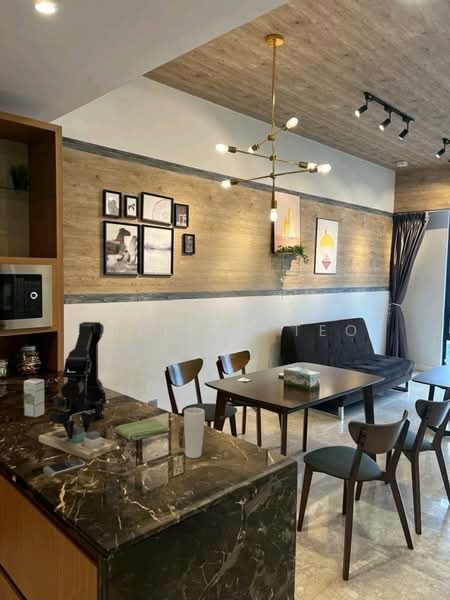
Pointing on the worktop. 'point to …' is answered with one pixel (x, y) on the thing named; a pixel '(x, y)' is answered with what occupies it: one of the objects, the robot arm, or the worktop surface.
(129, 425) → the washcloth
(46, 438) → the wooden grid tray
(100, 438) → the off-white plug
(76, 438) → the teal plug
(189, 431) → the drinking glass
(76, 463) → the cell phone
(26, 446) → the worktop surface
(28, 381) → the syrup box
